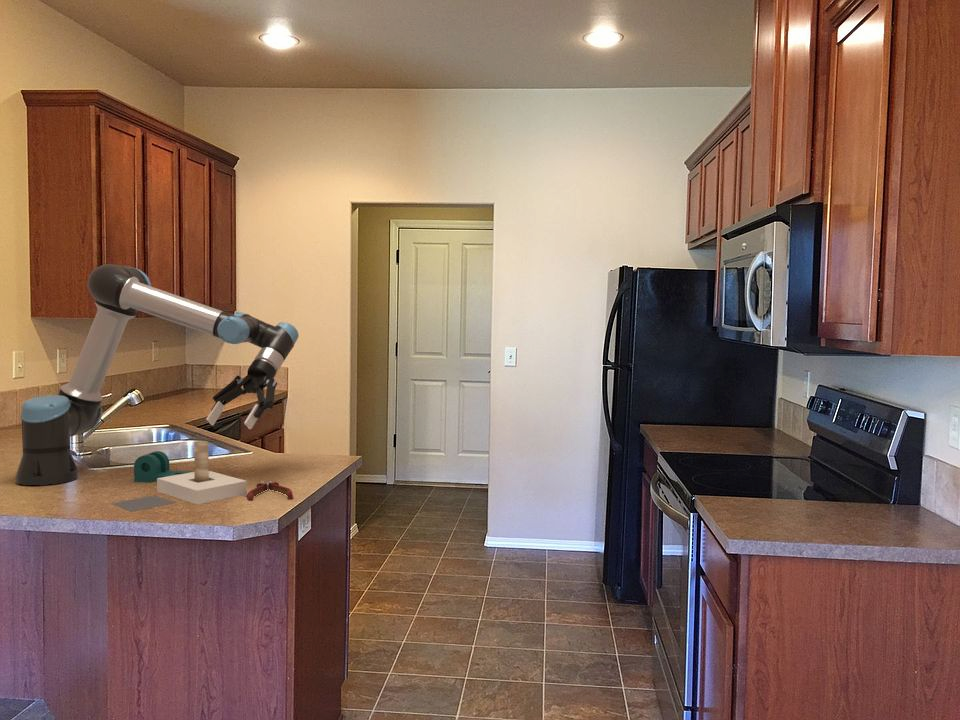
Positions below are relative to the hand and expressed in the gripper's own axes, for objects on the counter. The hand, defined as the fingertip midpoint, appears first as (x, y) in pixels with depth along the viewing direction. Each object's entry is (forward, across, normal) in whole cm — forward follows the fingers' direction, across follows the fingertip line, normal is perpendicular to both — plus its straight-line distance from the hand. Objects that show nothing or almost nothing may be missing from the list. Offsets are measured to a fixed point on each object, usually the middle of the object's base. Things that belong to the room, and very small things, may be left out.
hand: (228, 424), depth 196 cm
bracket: (+14, +20, -12) cm, 27 cm away
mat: (+29, +5, +5) cm, 30 cm away
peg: (+19, 0, -6) cm, 20 cm away
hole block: (+19, 0, -6) cm, 20 cm away
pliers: (+12, -15, -13) cm, 24 cm away
